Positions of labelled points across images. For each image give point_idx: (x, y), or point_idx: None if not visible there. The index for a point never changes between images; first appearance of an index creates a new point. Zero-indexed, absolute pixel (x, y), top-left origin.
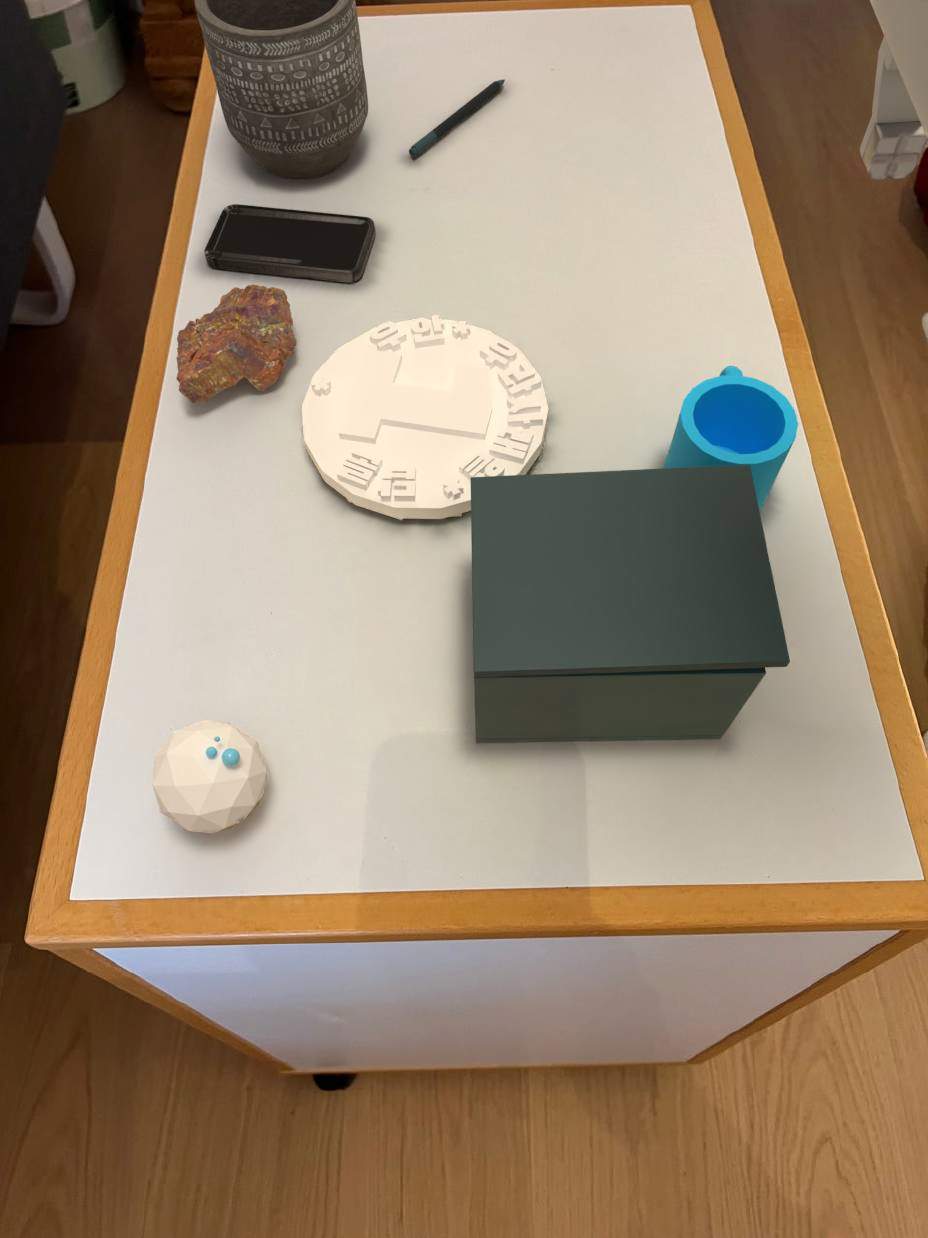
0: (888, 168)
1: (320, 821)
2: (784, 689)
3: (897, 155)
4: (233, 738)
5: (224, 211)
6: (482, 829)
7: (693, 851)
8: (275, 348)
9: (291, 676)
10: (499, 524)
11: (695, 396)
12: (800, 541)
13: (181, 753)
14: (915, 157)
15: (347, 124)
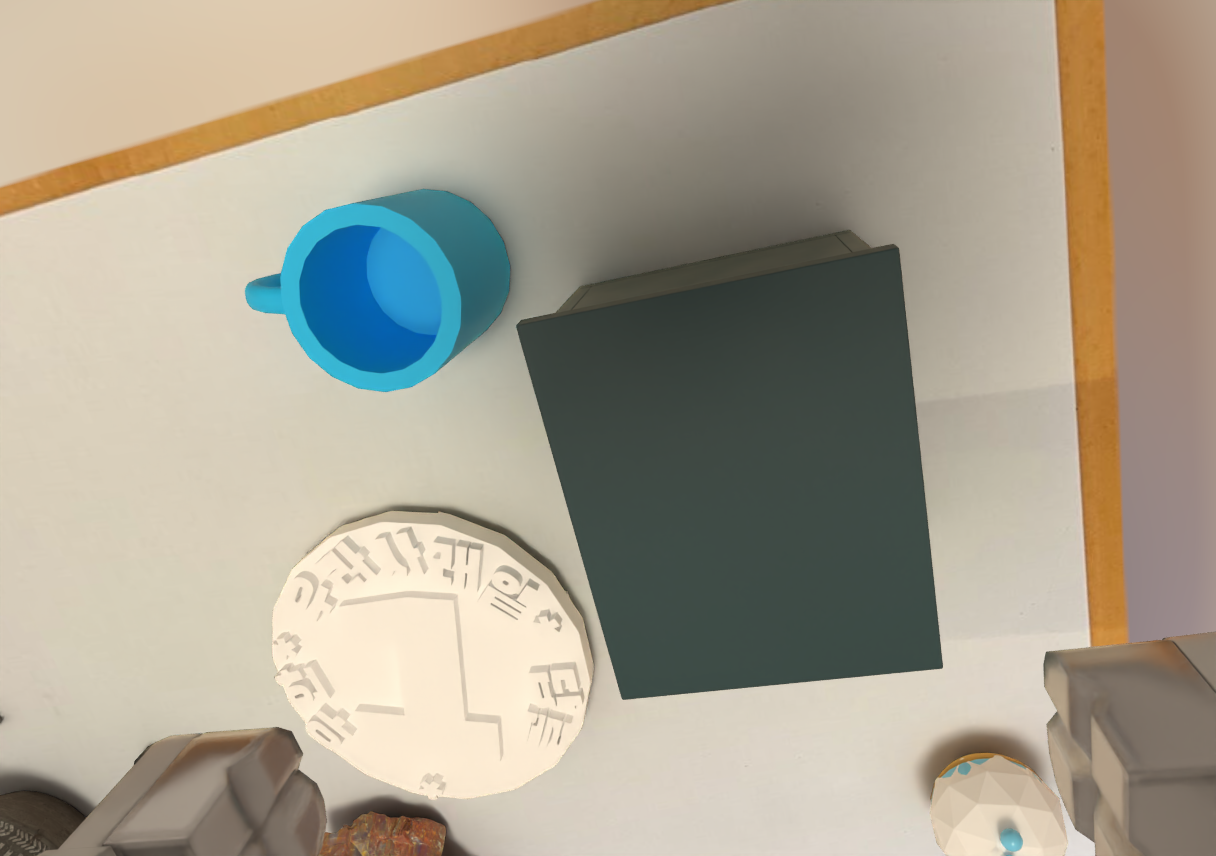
0: (289, 801)
1: (1005, 679)
2: (757, 140)
3: (255, 826)
4: (974, 830)
5: None
6: (1004, 513)
7: (1020, 255)
8: (391, 840)
9: (825, 734)
10: (696, 659)
11: (347, 371)
12: (495, 127)
13: None
14: (240, 771)
15: (5, 840)
